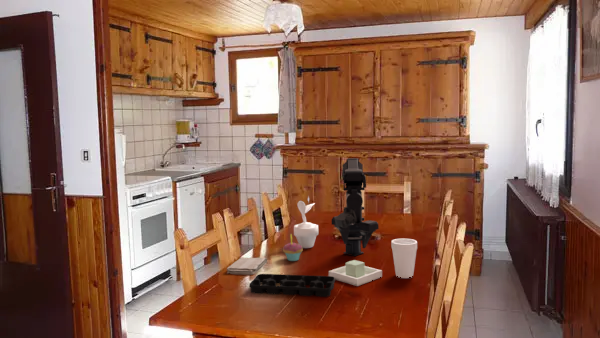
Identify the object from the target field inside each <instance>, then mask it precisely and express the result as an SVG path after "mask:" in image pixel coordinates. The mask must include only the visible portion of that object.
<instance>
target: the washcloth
mask: <svg viewBox="0 0 600 338" xmlns="http://www.w3.org/2000/svg"><path fill="white" fill-rule="evenodd" d="M267 263H268V259H267V257H239V259H238V260H236V261H234V262H233V263H232V264H230V265H229V266H228V267H227V268H226V271H227V272H226V274H227V275H228V274H231V275H242V276H243V275H246V276H247V275H248V276H249V275H250V276H251V275H255V274H256V273H258V272H259V271H260V270H261V269H262V268H263V267H264V266H265V265H266V264H267Z"/></svg>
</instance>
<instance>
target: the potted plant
mask: <svg viewBox="0 0 600 338" xmlns="http://www.w3.org/2000/svg"><path fill="white" fill-rule="evenodd" d="M307 201H308V204H306V203H305V202H304V201H302V200H299V201H298V202H297V204H296V205H297V208H298V211H299V212H300V214H301V218H302V222H301V223H298V224H297V223H296V224H294V225H293V236H295V238H296V241H297V243H298V244H299V245H301V246H302V247H303V248H302V249H310V248H313V247H314V246H315V242H316V239H317V236H319V224H316V223H312V222H308V221H307V217H306V214H307V213H308V212H310V210H311V209H312V208H313V206H314V205H315V204H316V203H315V202H314V203H310V196H309V195H308V196H307ZM309 203H310V204H309Z"/></svg>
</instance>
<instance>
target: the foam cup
mask: <svg viewBox="0 0 600 338" xmlns="http://www.w3.org/2000/svg"><path fill="white" fill-rule="evenodd" d="M390 244H391V249H392V258H393V264H394V272H395V276H396V277H397V276H398V277H397V278H400V277H401V278H400V279H410V278H409V277H411V278H413V277H414V272H415V266H416V265H415V264H416V258H417V250H418V241H417V240H416V239H412V238H404V237H403V238H395V239H391V243H390ZM412 276H413V277H412Z"/></svg>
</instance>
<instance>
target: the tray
mask: <svg viewBox="0 0 600 338" xmlns="http://www.w3.org/2000/svg"><path fill="white" fill-rule="evenodd" d="M328 276H332V277H334V278H335V281H339V282H342V283H346V284H349V285H353V286H354V287H355V286H356V287H359V286H361V285H364V284H365V285H366V284H367V283H369V282H372V280H373V281H375V280H378V279H381V278H382V277H383V270H382V269H377V268H374V267H371V266H370V267H369V266H368V265H367V266H366V265H365V275H364V276H361V277H358V278H355V277H352V276H348V275H346V265H344V266H340V267H337V268H334V269H332V270H328ZM380 277H381V278H380Z"/></svg>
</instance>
